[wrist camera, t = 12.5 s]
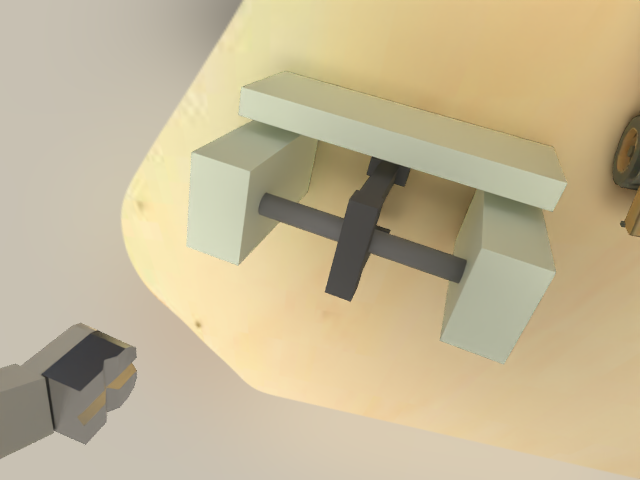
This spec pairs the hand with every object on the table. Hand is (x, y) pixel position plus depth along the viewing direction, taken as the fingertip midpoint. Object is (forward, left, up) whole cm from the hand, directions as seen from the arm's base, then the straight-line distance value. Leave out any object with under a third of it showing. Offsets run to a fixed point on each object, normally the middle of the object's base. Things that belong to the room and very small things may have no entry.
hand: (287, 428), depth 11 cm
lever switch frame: (+2, +5, -31) cm, 31 cm away
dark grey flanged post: (+2, +6, -27) cm, 28 cm away
